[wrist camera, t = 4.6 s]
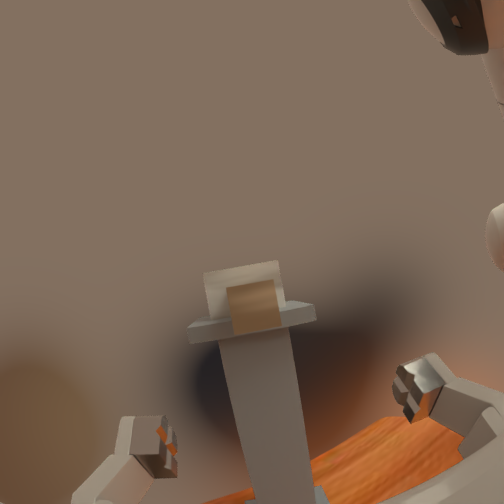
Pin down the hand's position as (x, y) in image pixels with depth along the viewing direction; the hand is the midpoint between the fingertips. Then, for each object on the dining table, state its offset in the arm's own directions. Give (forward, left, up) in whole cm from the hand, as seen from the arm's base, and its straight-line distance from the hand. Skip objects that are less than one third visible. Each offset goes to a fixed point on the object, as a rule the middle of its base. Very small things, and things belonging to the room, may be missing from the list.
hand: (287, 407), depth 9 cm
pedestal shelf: (0, -24, -31) cm, 39 cm away
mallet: (0, -18, +1) cm, 18 cm away
